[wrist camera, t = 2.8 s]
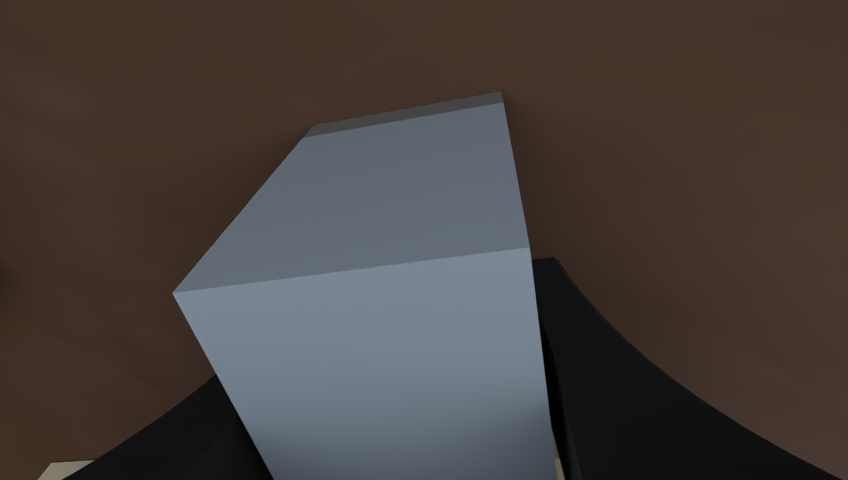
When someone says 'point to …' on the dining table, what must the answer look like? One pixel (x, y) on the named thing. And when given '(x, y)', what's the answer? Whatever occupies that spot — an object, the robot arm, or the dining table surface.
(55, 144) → the dining table surface
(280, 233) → the block
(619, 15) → the dining table surface
